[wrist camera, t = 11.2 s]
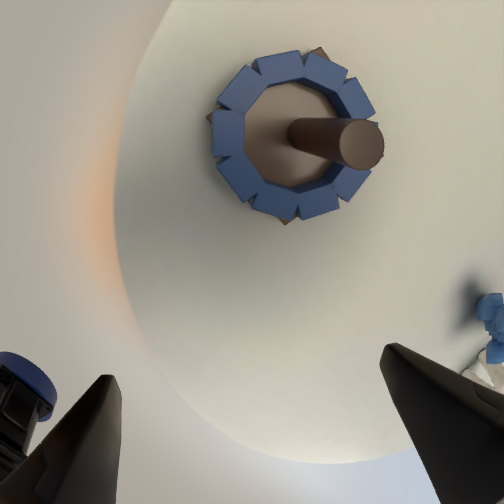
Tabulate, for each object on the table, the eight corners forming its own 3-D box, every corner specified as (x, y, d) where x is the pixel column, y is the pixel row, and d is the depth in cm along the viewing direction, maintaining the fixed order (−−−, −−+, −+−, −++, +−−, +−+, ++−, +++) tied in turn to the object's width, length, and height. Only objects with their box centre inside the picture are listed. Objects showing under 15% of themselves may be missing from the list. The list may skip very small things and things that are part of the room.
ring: (272, 241, 19) (278, 251, 18) (176, 113, 15) (174, 112, 14) (387, 160, 18) (401, 164, 17) (311, 30, 14) (321, 23, 13)
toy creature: (450, 398, 35) (490, 453, 24) (437, 391, 33) (481, 453, 22) (505, 338, 33) (552, 386, 22) (497, 323, 30) (552, 377, 19)
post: (280, 220, 20) (327, 281, 13) (205, 117, 17) (208, 112, 9) (375, 153, 19) (459, 178, 12) (314, 49, 16) (384, 15, 9)
